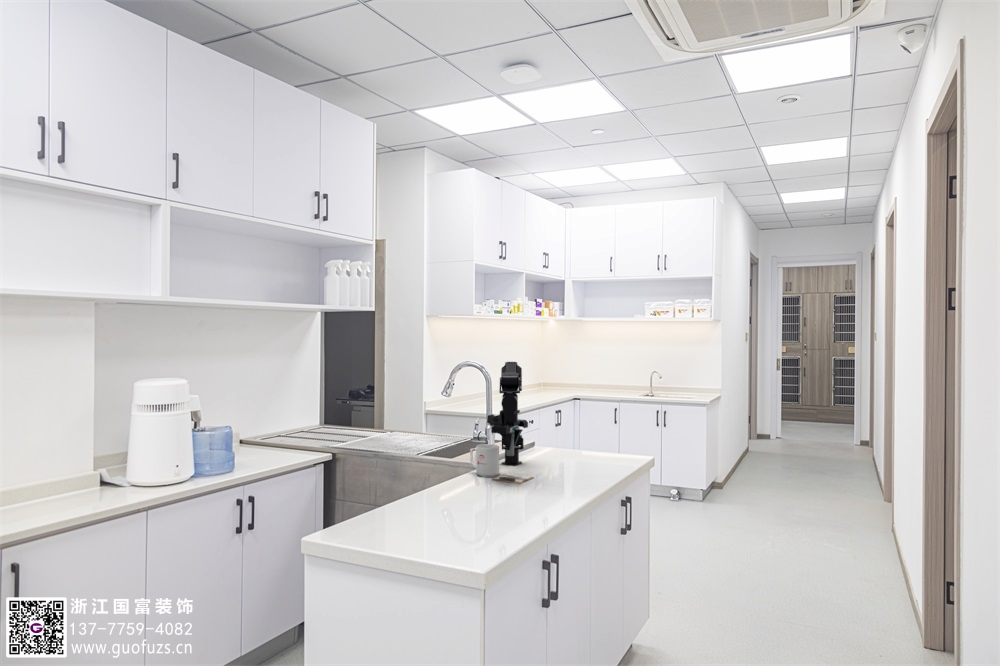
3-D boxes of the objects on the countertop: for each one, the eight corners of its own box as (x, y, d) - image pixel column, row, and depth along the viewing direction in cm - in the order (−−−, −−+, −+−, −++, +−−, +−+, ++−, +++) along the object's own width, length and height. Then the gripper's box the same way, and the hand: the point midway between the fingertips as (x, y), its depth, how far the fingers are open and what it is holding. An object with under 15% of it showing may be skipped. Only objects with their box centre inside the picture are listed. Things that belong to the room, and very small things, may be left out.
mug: (503, 473, 261) (503, 445, 261) (492, 478, 253) (492, 449, 253) (476, 470, 266) (476, 442, 266) (464, 475, 258) (464, 446, 258)
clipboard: (505, 474, 259) (505, 470, 259) (533, 477, 254) (533, 474, 254) (491, 480, 250) (491, 476, 250) (520, 483, 244) (520, 480, 244)
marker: (508, 454, 253) (508, 429, 252) (515, 454, 251) (515, 429, 251) (504, 455, 250) (504, 430, 250) (511, 456, 248) (511, 431, 248)
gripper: (503, 403, 262) (503, 443, 263) (478, 409, 246) (478, 451, 246) (528, 405, 257) (528, 446, 257) (505, 411, 241) (505, 454, 241)
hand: (510, 449), depth 251 cm, fingers closed on marker, 3 cm apart
